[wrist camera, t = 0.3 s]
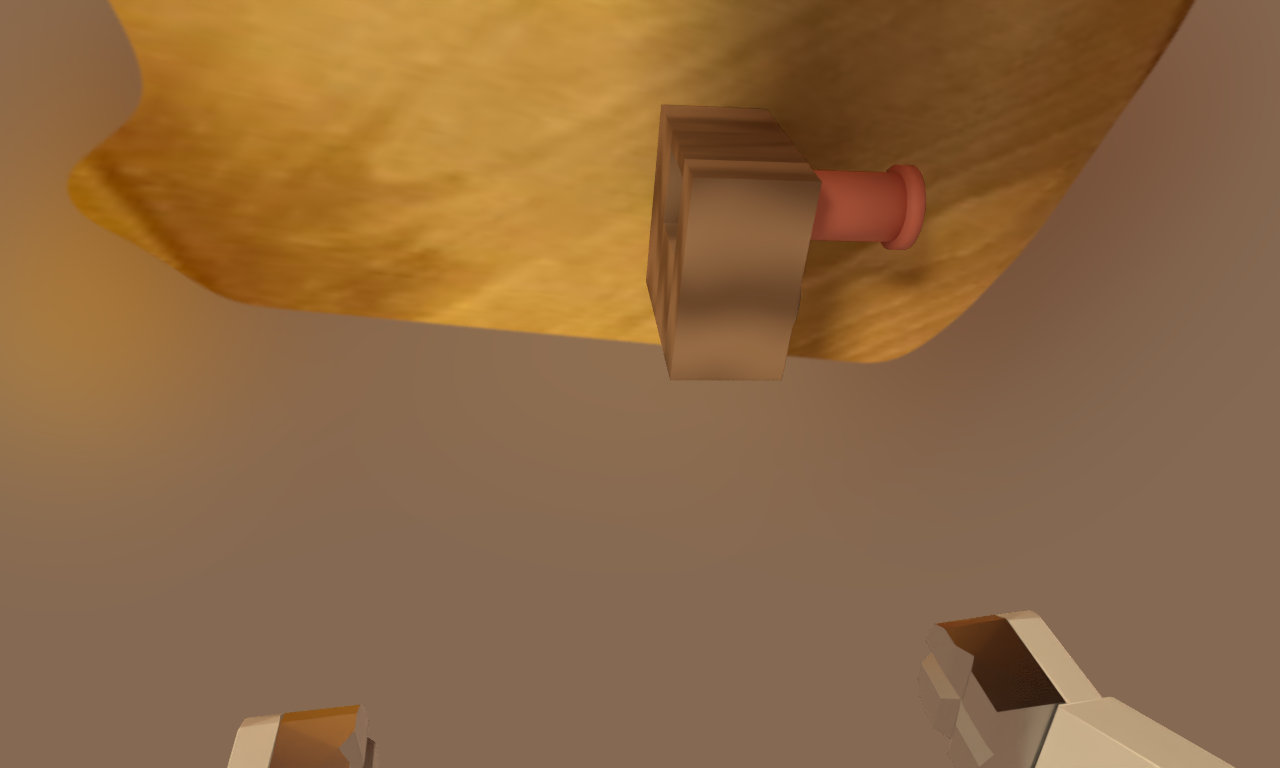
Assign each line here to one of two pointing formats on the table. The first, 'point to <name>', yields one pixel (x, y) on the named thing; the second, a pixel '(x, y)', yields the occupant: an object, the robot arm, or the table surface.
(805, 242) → the socket block
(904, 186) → the red plug
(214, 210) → the table surface
